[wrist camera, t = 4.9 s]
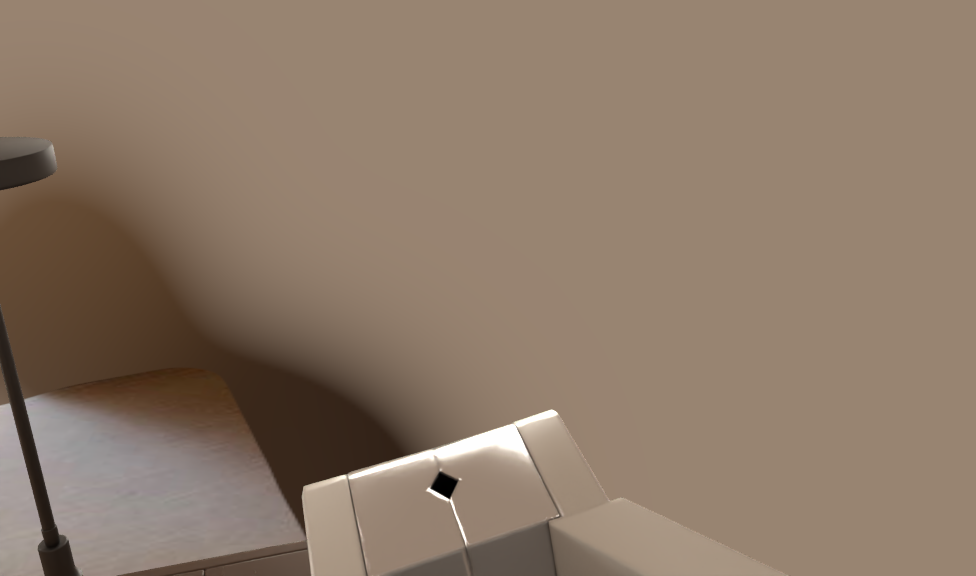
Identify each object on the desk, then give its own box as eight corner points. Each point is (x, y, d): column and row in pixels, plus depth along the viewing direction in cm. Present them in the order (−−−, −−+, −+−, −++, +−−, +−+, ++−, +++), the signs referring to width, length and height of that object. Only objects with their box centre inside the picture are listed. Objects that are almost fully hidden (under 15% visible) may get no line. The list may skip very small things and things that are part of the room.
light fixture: (69, 744, 35) (-85, 177, 27) (-27, 691, 38) (-195, 163, 30) (186, 639, 41) (90, 142, 32) (94, 599, 44) (-17, 133, 35)
